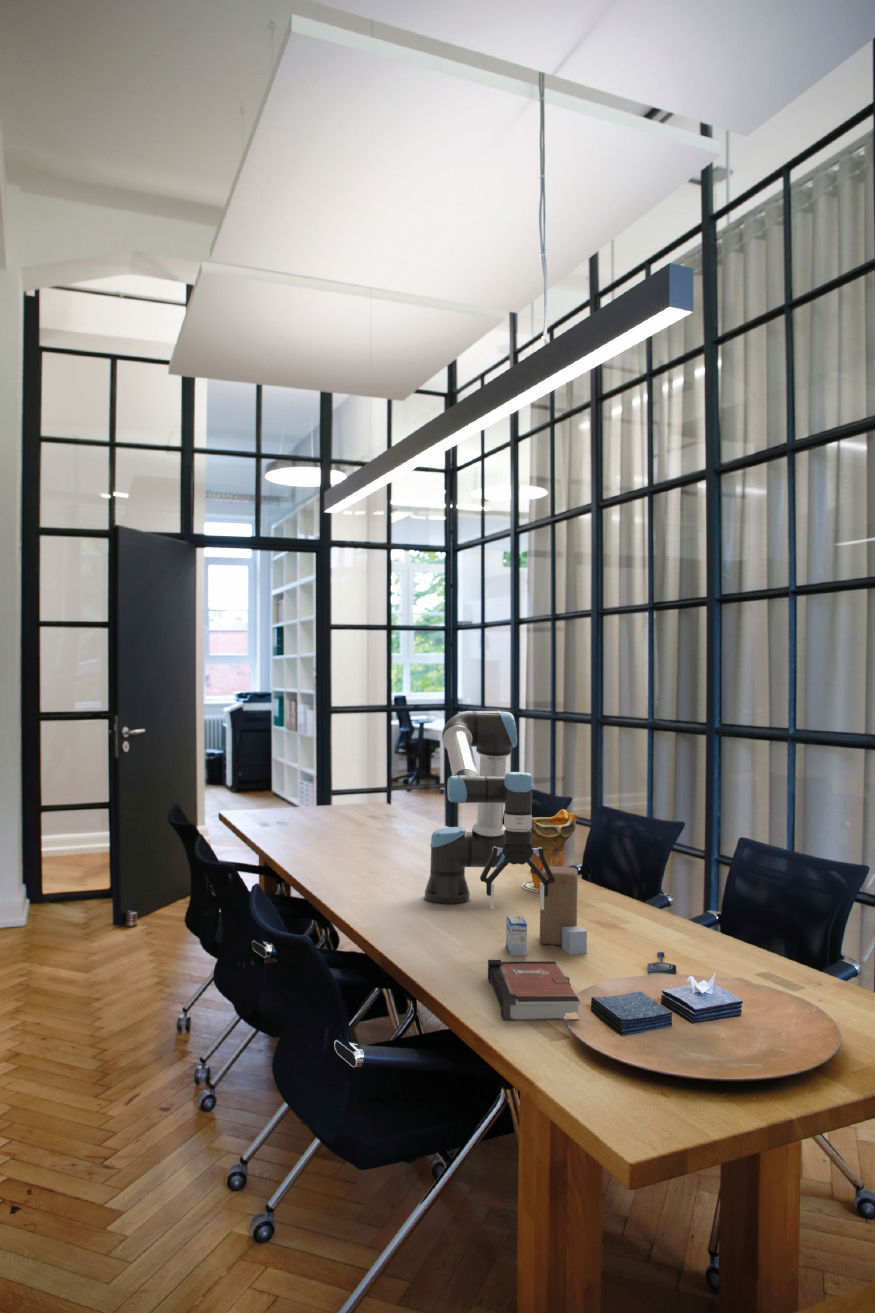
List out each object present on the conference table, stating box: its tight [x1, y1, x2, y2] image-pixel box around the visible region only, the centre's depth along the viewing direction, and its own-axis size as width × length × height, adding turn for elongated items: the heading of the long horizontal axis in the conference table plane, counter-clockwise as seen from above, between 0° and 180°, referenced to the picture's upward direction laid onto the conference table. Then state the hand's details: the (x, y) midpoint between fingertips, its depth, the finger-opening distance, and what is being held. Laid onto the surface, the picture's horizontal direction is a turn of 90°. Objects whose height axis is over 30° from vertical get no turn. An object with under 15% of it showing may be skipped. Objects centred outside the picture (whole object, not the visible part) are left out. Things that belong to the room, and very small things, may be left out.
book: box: [487, 959, 581, 1022], centre depth 196 cm, size 26×18×5 cm
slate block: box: [561, 925, 588, 955], centre depth 231 cm, size 5×5×6 cm
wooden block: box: [539, 866, 579, 946], centre depth 240 cm, size 10×10×20 cm
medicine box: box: [505, 915, 528, 957], centre depth 230 cm, size 8×4×9 cm, turn 5°
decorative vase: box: [521, 808, 579, 893], centre depth 303 cm, size 21×23×28 cm
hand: (516, 908), depth 230 cm, fingers open, 13 cm apart
